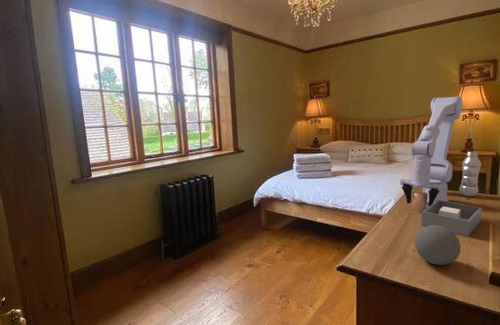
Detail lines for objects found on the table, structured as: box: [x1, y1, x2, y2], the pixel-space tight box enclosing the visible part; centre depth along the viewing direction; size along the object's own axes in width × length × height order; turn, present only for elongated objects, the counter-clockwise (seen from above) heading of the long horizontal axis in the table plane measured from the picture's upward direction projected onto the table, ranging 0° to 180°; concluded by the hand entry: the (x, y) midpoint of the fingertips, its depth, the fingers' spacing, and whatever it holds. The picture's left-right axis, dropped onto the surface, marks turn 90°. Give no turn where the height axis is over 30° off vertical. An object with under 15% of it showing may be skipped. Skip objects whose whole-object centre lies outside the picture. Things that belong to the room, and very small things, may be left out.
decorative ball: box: [414, 225, 462, 266], centre depth 75 cm, size 10×10×10 cm
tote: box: [420, 200, 483, 238], centre depth 99 cm, size 17×13×5 cm
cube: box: [439, 206, 460, 219], centre depth 97 cm, size 5×5×5 cm
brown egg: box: [411, 190, 428, 213], centre depth 113 cm, size 5×5×7 cm
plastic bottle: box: [459, 150, 482, 197], centre depth 126 cm, size 6×7×20 cm
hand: (419, 205), depth 113 cm, fingers open, 7 cm apart
